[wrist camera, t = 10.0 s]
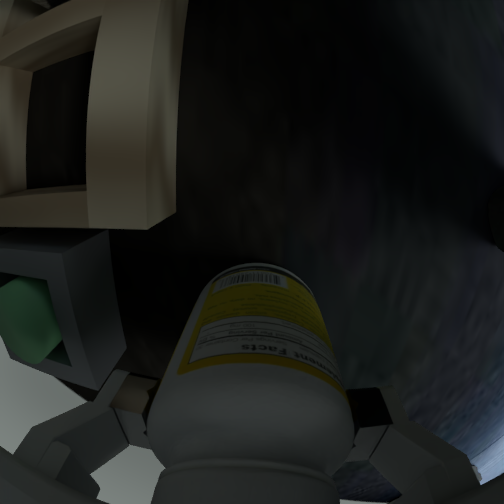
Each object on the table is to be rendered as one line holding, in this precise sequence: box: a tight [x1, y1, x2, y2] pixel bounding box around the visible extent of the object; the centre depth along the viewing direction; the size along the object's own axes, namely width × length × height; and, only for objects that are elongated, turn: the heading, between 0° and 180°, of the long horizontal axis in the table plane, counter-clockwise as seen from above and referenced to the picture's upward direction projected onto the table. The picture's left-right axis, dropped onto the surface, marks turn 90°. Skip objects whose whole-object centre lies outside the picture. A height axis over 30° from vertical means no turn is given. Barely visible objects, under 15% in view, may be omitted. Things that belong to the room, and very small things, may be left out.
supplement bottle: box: [147, 263, 354, 504], centre depth 8 cm, size 5×5×10 cm
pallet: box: [0, 0, 189, 230], centre depth 8 cm, size 17×11×3 cm, turn 178°
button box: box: [0, 228, 127, 390], centre depth 11 cm, size 6×6×4 cm
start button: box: [0, 275, 62, 364], centre depth 10 cm, size 4×4×3 cm
